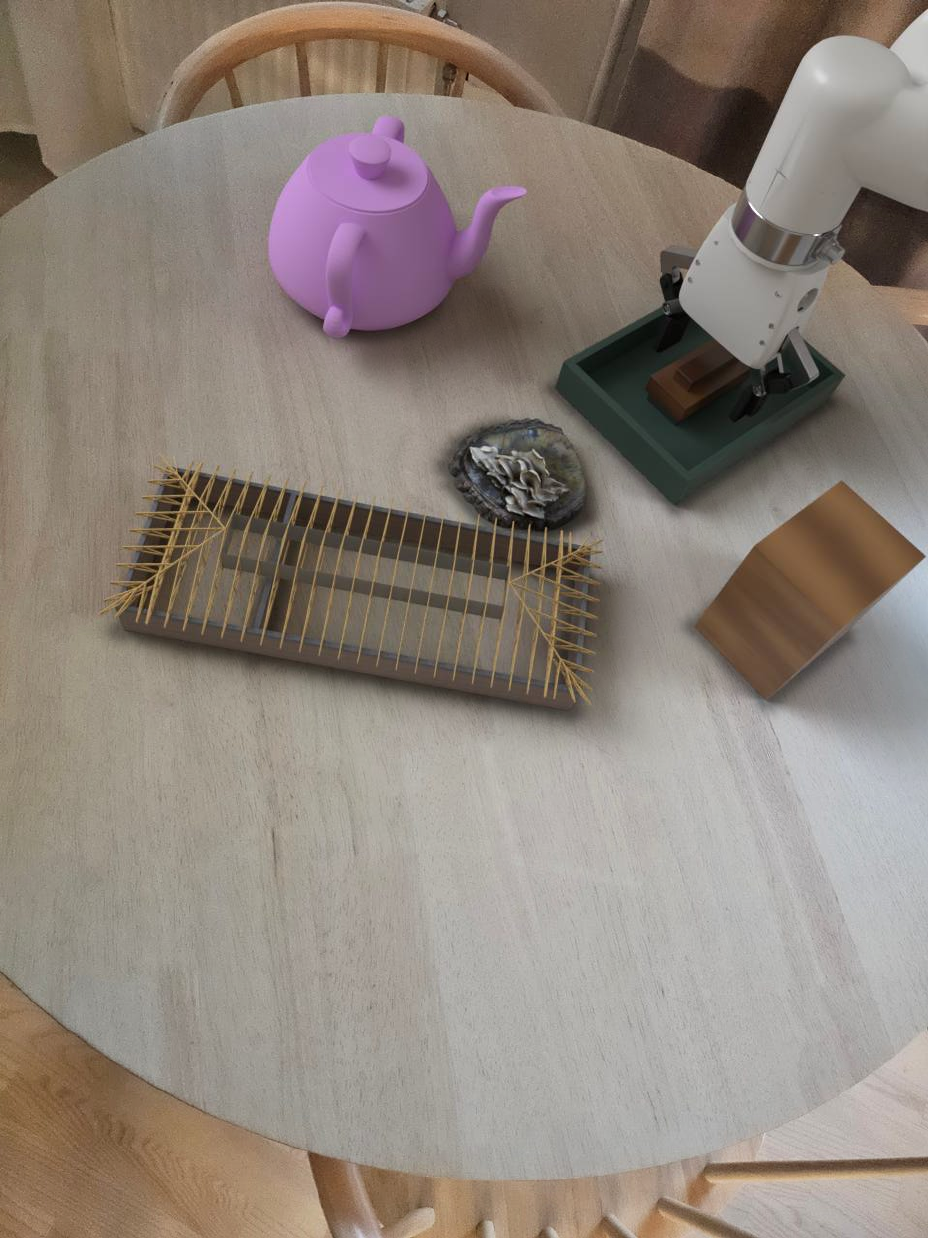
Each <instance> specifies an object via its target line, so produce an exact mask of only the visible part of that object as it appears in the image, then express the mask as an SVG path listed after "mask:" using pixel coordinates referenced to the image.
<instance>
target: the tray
mask: <svg viewBox="0 0 928 1238" xmlns="http://www.w3.org/2000/svg"><path fill="white" fill-rule="evenodd" d="M664 315H665V314H664V312H663V310H662V306H660V307H659V308H657V309H655V310H653V311H651V312H649V313H648V314H646V315H644V316H643V317H641V318H639V319H637V320H635V321H633V322H631V323H629V324H628V325H626V326H624V327H622V328H621V329H619V330H617V331H615V332H613V333H611V334H610V335H608V336H607V337H604V338H603V339H600V340H599V341H598V342H595V343H594V344H592V345H590V346H588V347H587V348H584V349H583V350H581V351H580V352H578V353H576V354H574V355H572V356H571V357H568V358H566V359H565V360H563V362H562V365H561V368H560V371H559V374H558V377H557V381H556V384H555V386H554V389H555V390H556V391H557V392H558V394H559V395H560V396H562V397H563V398H564V399H565V400H566V401H567V402H568V403H569V404H570V405H571V406H572V407H573V408H574V409H575V410H576V411H577V412H578V413H579V414H580V415H581V416H582V417H583V418H584V419H585V420H586V421H587V422H588V423H589V424H590V425H591V426H592V427H593V428H594V429H596V430H597V432H599V434H601V436H602V437H604V439H605V440H607V442H608V443H610V444H611V445H612V446H613V447H614V448H615V449H616V451H618V452H619V453H620V454H621V455H622V456H623V457H624V458H625V459H626V460H627V461H628V462H629V463H630V464H631V465H632V466H633V467H634V468H635V469H636V470H637V471H638V472H639V473H640V474H642V476H643V477H644V478H646V479H647V481H649V483H650V484H651V485H653V487H654V488H655V489H657V490H658V491H659V492H660V493H661V494H662V495H663V496H664V497H665V498H666V499H667V500H668V501H669V502H670V503H671V504H672V505H673V506H676V505H678V504H679V503H681V502H682V501H684V500H686V499H687V498H688V497H690V496H691V495H693V494H694V493H696V492H698V490H701V488H703V487H705V486H706V485H707V484H709V483H710V482H712V481H714V479H717V478H718V477H719V476H720V475H722V474H723V473H725V472H726V471H727V470H729V469H731V468H732V467H733V466H735V465H736V464H738V463H739V462H741V461H742V460H744V459H745V458H746V457H748V456H749V455H751V454H752V453H754V452H755V451H757V450H758V449H760V448H761V447H762V446H764V445H766V444H767V443H768V442H770V441H772V440H773V439H774V438H776V437H777V436H779V435H780V434H782V433H783V432H785V431H786V430H787V429H789V428H791V427H792V426H793V425H795V424H796V423H797V422H799V421H800V420H802V419H804V418H805V417H806V416H808V415H809V414H811V413H813V412H814V411H815V410H816V409H818V408H819V407H821V406H822V405H824V404H825V403H827V402H828V401H829V400H830V398H831V397H832V396H833V394H834V393H835V391H836V390H837V388H838V387H839V385H840V384H841V383H842V381H843V380H844V378H845V377H846V373H844V372H843V371H842V370H841V369H839V368H838V367H837V366H836V365H835V364H834V363H832V362H831V361H830V360H829V359H827V357H825V356H824V355H823V354H822V353H821V352H819V351H818V350H817V349H815V347H814V346H812V345H811V343H809V342H808V341H806V339H804V338H803V337H802V339H803V341H804V343H805V345H806V347H807V349H808V351H809V353H810V355H811V357H812V359H813V361H814V362H815V364H816V366H817V368H818V370H819V376H818V377H817V378H816V379H814V380H813V381H811V382H810V383H808V384H806V385H804V386H801V387H799V388H797V389H794V390H792V391H789V392H788V393H786V394H770V395H769V396H768V398H767V400H766V401H765V403H764V405H763V406H762V408H761V409H760V410H759V411H758V412H757V413H756V414H755V415H753V416H752V417H749V416H748V415H745V416H744V417H742V418H741V419H739V420H738V421H736V422H735V423H734V422H733V421H731V420H730V417H729V415H730V413H731V412H732V410H733V408H734V406H735V405H736V403H737V401H738V399H739V398H740V396H741V394H742V392H743V391H744V389H745V388H746V387H748V386H749V385H751V384H752V383H751V377H750V378H748V379H747V380H745V381H743V382H742V384H741V385H739V386H738V387H736V388H735V389H733V390H732V391H730V392H729V393H727V394H725V395H724V396H722V397H721V398H719V399H718V400H716V401H714V402H713V403H711V404H710V405H708V406H707V407H705V408H703V409H702V410H700V411H699V412H697V413H696V414H694V415H692V416H691V417H689V418H688V419H686V420H685V421H683V422H681V423H680V424H678V425H677V426H674V425H673V424H672V423H671V422H670V421H669V420H668V419H667V418H666V417H665V416H664V415H663V414H662V413H661V412H660V411H658V410H657V409H656V408H655V407H654V406H653V405H652V404H651V403H650V402H649V401H648V400H647V397H648V395H649V393H648V392H647V391H646V390H645V388H646V385H647V383H648V381H649V379H650V376H651V375H653V374H655V373H656V372H658V371H660V370H661V369H663V368H665V367H666V366H668V365H670V364H671V363H673V362H675V361H676V360H678V359H680V358H681V357H683V356H685V355H686V354H688V353H690V352H691V351H693V350H695V349H696V348H698V347H700V346H701V345H703V344H705V343H706V342H708V341H710V340H711V339H713V337H712V336H711V335H710V334H709V333H708V332H707V331H705V330H704V329H703V328H702V327H701V326H700V325H699V324H698V323H697V322H696V321H694V320H693V319H692V318H691V319H690V321H689V323H688V326H687V328H686V330H685V332H684V334H683V337H682V339H681V340H680V341H679V342H678V343H676V344H675V345H673V346H671V347H669V348H668V349H666V350H664V351H663V352H661V353H660V352H658V353H657V352H656V351H655V350H654V349H653V347H654V345H655V343H656V340H657V338H658V336H659V335H658V334H657V331H658V329H659V326H660V324H661V322H662V319H663V317H664ZM781 358H782V364H783V371H784V373H786V372H793V370H792V367H791V365H790V363H789V361H788V359H787V357H786V356H785V354H784V353H783V352H781ZM764 367H765V373H766V374H767V373H768V369H767V364H765V366H764Z"/></svg>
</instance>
